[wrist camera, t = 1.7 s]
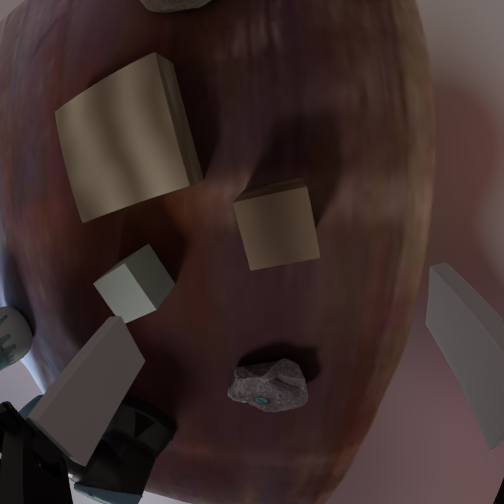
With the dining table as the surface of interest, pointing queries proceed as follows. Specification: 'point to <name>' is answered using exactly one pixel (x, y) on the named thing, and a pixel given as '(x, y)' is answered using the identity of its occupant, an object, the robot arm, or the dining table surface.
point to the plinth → (127, 139)
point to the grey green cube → (135, 285)
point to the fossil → (172, 5)
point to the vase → (13, 336)
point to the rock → (269, 385)
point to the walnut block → (277, 224)
